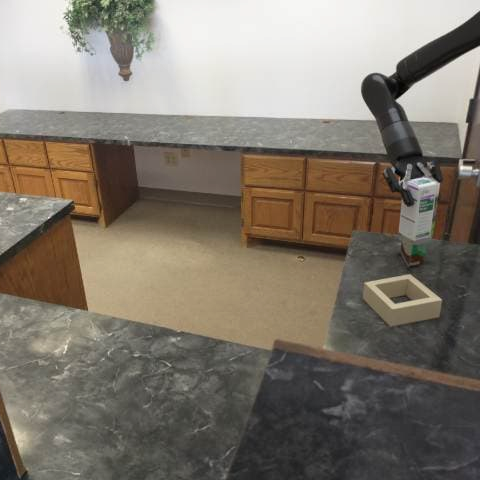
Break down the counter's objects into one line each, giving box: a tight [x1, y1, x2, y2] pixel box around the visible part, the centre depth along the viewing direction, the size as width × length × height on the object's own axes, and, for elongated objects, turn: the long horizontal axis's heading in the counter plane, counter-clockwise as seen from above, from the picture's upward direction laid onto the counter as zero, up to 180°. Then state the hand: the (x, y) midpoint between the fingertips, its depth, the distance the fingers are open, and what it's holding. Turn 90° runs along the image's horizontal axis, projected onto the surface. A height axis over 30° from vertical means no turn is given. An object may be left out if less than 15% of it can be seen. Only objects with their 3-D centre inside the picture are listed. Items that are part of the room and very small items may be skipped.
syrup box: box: [398, 175, 441, 241], centre depth 126 cm, size 6×6×14 cm
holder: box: [362, 273, 443, 328], centre depth 126 cm, size 13×13×5 cm
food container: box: [399, 234, 433, 269], centre depth 144 cm, size 12×6×10 cm, turn 171°
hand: (424, 203), depth 123 cm, fingers closed on syrup box, 6 cm apart
